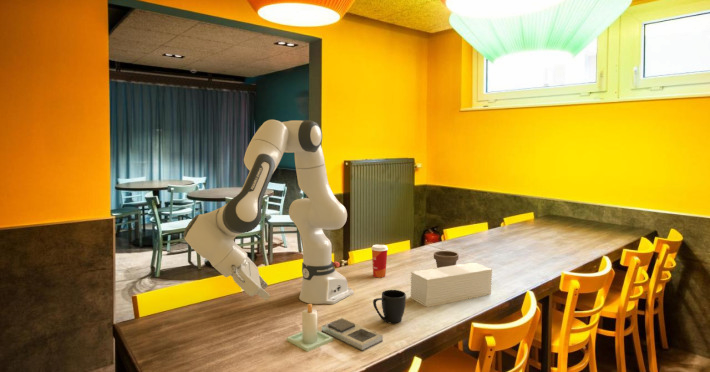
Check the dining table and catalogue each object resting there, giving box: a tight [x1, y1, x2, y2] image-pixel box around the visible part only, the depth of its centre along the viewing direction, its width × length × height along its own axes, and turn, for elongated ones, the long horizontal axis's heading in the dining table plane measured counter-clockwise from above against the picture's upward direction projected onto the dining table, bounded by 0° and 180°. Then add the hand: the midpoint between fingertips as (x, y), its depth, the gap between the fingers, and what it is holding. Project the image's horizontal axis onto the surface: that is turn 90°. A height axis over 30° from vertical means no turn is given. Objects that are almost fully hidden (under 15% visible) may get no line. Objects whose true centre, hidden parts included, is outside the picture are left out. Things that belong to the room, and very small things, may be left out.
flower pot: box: [433, 250, 459, 268], centre depth 197 cm, size 12×11×10 cm
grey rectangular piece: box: [321, 317, 384, 352], centre depth 133 cm, size 9×18×3 cm, turn 45°
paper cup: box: [370, 244, 389, 279], centre depth 194 cm, size 8×8×14 cm
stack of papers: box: [410, 262, 493, 308], centre depth 170 cm, size 32×11×11 cm, turn 116°
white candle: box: [301, 303, 318, 344], centre depth 129 cm, size 5×5×11 cm
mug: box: [372, 289, 407, 325], centre depth 145 cm, size 8×12×10 cm
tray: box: [286, 329, 334, 353], centre depth 130 cm, size 10×10×2 cm
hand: (267, 292), depth 125 cm, fingers open, 8 cm apart
